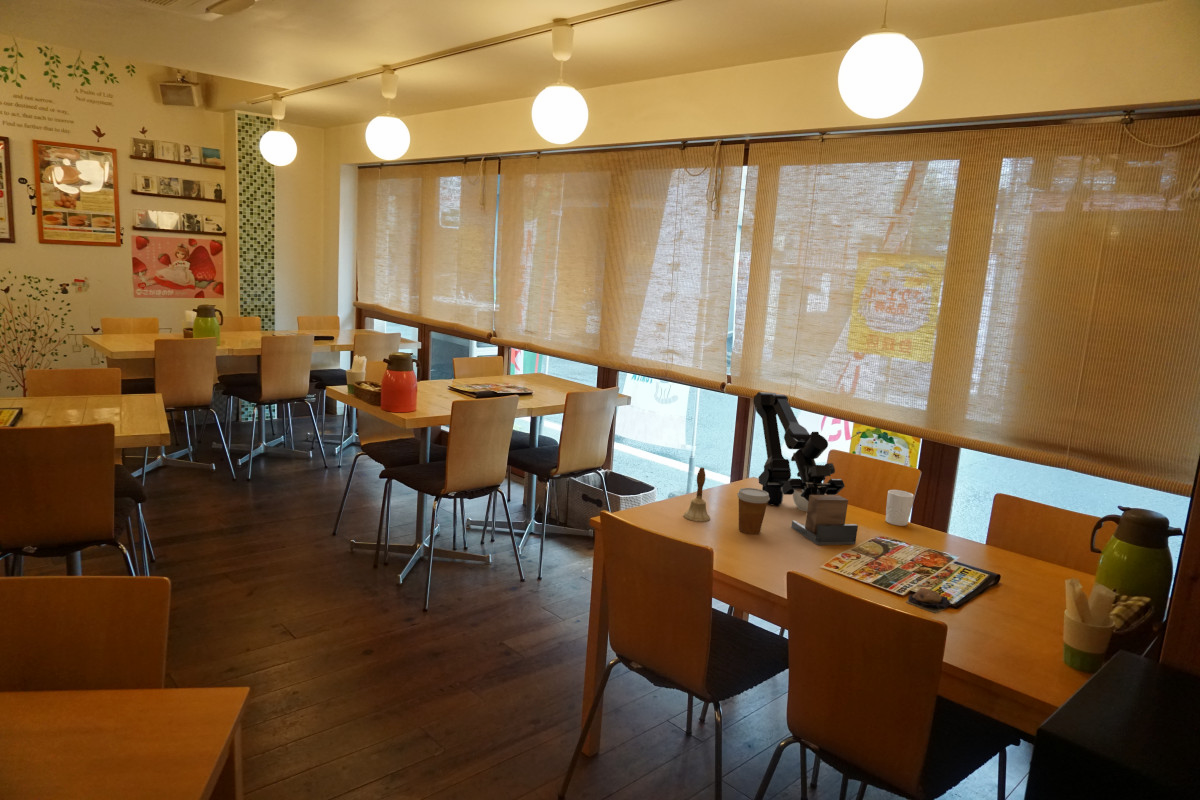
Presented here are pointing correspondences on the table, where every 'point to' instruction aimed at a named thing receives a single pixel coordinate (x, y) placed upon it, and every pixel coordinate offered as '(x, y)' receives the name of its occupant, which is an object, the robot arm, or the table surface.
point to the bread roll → (928, 600)
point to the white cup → (898, 507)
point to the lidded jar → (800, 500)
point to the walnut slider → (825, 511)
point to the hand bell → (698, 502)
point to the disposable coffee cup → (752, 509)
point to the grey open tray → (829, 533)
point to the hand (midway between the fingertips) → (821, 511)
